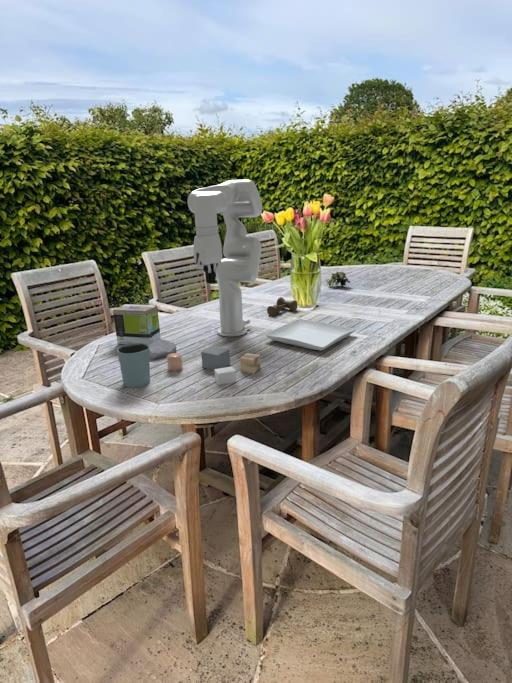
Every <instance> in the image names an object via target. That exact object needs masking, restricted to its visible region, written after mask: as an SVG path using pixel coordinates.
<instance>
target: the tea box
mask: <svg viewBox="0 0 512 683" xmlns="http://www.w3.org/2000/svg"><path fill="white" fill-rule="evenodd" d="M112 313H113V322H114V328H115V335H116V342H117V345H126V344H132V343H143V344H147V345H150V344H151V343H152V342H154V341H156V340H159V339H161V329H160V321H159V320H160V319H159V310H158V305H157V304H134V303H133V304H131V303H129V304H128V303H124V304H122V305H120V306H118V307H116V308H114V309H113V310H112Z"/></svg>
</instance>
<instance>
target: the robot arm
mask: <svg viewBox="0 0 512 683" xmlns="http://www.w3.org/2000/svg"><path fill="white" fill-rule="evenodd" d="M187 206H188V209H189V211H190V212H191V213H193V214H194V224H195V233H196V234H195V236H194V238H193V239H194V240H193V262H194V264H195V265H196V268H197V269H198V270H202V271H203V272H204V273H205V282H206V284H210V285H212V284H215V283H216V280H217V286H218V298H219V299H218V300H219V302H218V303H219V318H220V323H219V324H220V327H218V328H217V331H216V332H217V334H218V335H219V336H222V337H229V338H230V337H231V338H232V337H233V338H234V337H240V336H243V335H245V334H246V333H247V332H248V330H247V328H246V327H245V326H246V325H249V324H251V320H250V319H245V320H244V319H243V318H244V317H243V315H244V314H243V293H242V289H241V288H240V286H239V284H238V283H252V282H255V281H256V280H257V279H258V275H259V270H260V269H259V268H260V263H261V258H262V257H261V256H262V243H261V241H260V240H259V238H258V237H254V236H247V233H248V232H247V228H246V226H245V225H244V224H243V222H242V221H240V219H239V218H257V217H260V215H261V214H262V212H263V203H262V198H261V196H260V194H259V190H258V188H257V186H256V183H255V182H253V180H251V179H230V180H226V181H224V182H223V181H222V183H220V184H216V185H210V186H206V187H201V188H197V189H195V190H192V191H191V192H190V193H189V195H188V196H187ZM218 214H222V216H223V220H224V223H225V227H226V232H225V237H224V241H223V242H224V243H223V247H222V241H221V236H220V233H219V228H220V226H219V225H218V216H217V215H218ZM223 256H224V257H223Z"/></svg>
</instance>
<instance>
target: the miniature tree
mask: <svg viewBox="0 0 512 683" xmlns="http://www.w3.org/2000/svg"><path fill="white" fill-rule="evenodd" d="M330 275H331V278H330V279H329V278H327V279H326V285H328V286H329V287H330V286H332V287H333V286H334V284H335V287H334V289H336V288H337V286H339V284H340V286H341V287H344V286H347V284H346V283H348V284H351V281H350V280H349V278H348V277H347V275H346V273H345V272H344V271H336V272H335V273H333V272H331V274H330Z"/></svg>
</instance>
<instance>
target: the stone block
mask: <svg viewBox="0 0 512 683" xmlns="http://www.w3.org/2000/svg"><path fill="white" fill-rule="evenodd" d="M149 347H150V355H149V357H150V359H151V360H155V359H159V358H163V357H167V355H169V354H172V353H177V345H176V344H174V342H172V341H170V340H168V339H161V338H160V339H159V340H156V341H154V342H152V343H151V344H150V345H149ZM150 359H149V360H150Z"/></svg>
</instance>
